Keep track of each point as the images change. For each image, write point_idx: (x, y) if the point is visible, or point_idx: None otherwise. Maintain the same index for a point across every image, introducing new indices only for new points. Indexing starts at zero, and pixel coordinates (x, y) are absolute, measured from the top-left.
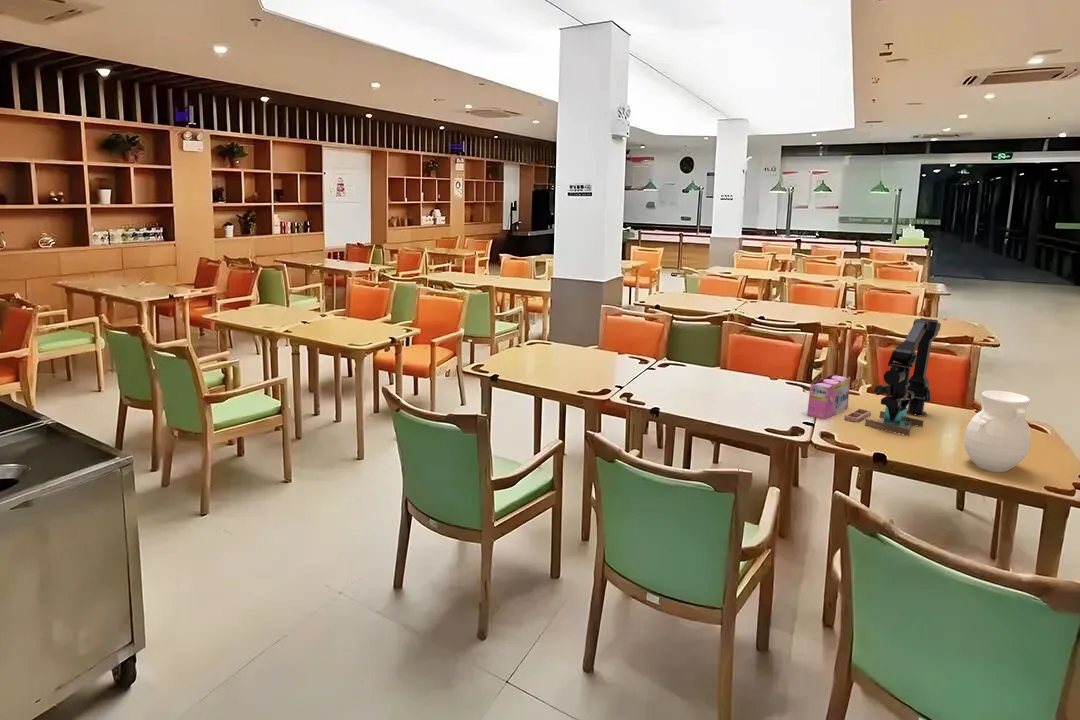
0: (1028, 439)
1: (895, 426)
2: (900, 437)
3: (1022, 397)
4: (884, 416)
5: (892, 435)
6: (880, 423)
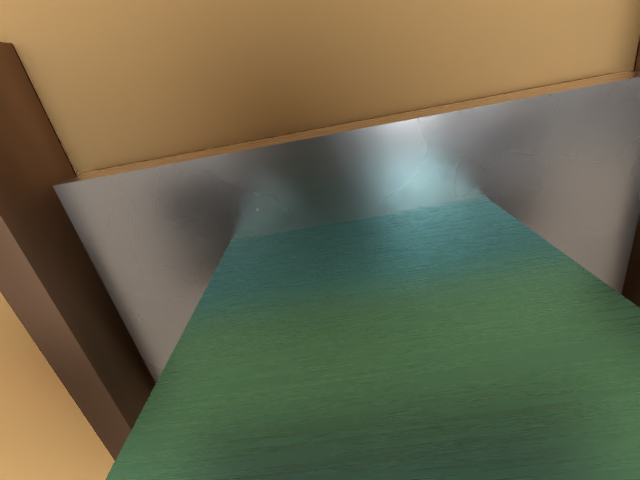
0: None
1: None
2: (100, 464)
3: None
4: (201, 303)
5: (67, 416)
6: (23, 313)
